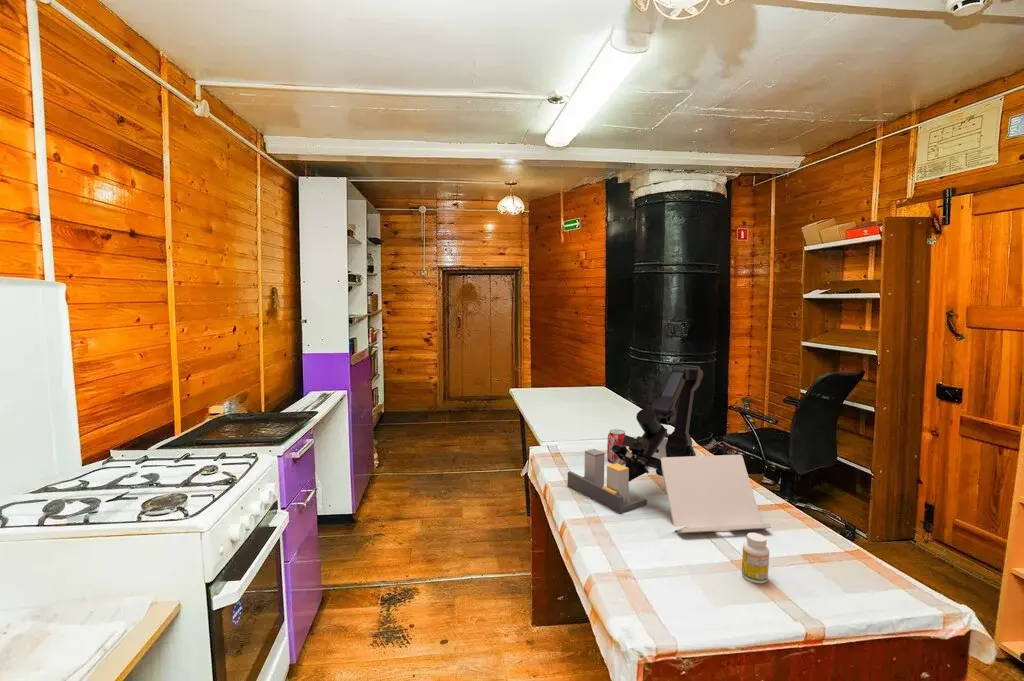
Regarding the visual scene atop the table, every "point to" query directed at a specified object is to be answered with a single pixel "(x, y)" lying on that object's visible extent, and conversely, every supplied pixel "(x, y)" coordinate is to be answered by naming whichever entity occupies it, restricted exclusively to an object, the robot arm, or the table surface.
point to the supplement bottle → (755, 558)
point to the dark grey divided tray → (602, 494)
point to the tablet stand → (710, 494)
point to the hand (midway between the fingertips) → (623, 482)
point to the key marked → (618, 480)
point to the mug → (661, 449)
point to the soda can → (613, 438)
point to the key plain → (594, 466)
